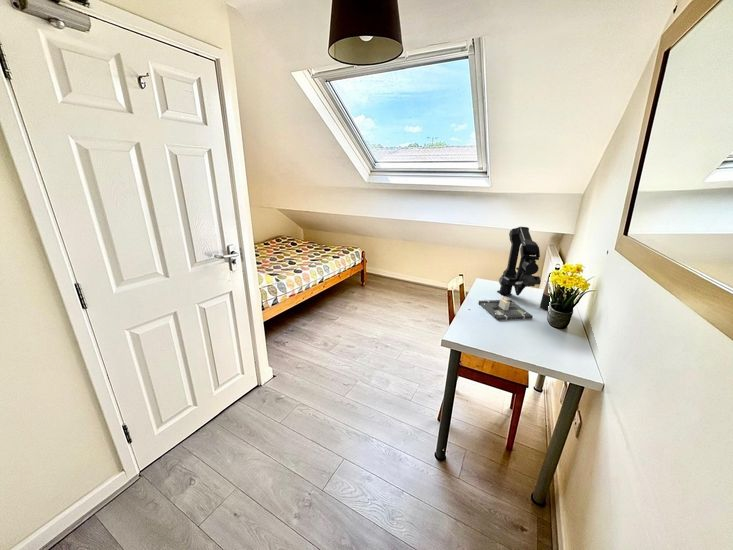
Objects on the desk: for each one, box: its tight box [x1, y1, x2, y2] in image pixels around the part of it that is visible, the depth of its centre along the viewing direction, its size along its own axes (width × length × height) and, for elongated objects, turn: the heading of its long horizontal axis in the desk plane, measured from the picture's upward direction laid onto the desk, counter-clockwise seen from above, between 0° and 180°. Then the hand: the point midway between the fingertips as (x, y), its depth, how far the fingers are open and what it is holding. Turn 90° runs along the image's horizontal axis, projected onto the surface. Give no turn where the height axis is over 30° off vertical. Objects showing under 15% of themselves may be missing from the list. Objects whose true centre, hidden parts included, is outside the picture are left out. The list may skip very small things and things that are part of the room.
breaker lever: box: [499, 297, 510, 311], centre depth 158 cm, size 5×2×5 cm, turn 10°
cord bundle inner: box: [477, 299, 514, 306], centre depth 167 cm, size 2×20×2 cm, turn 99°
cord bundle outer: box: [494, 313, 534, 321], centre depth 152 cm, size 2×20×2 cm, turn 100°
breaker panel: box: [479, 301, 531, 319], centre depth 159 cm, size 14×20×2 cm
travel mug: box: [539, 272, 552, 312], centre depth 162 cm, size 8×8×20 cm
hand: (517, 295), depth 157 cm, fingers closed
